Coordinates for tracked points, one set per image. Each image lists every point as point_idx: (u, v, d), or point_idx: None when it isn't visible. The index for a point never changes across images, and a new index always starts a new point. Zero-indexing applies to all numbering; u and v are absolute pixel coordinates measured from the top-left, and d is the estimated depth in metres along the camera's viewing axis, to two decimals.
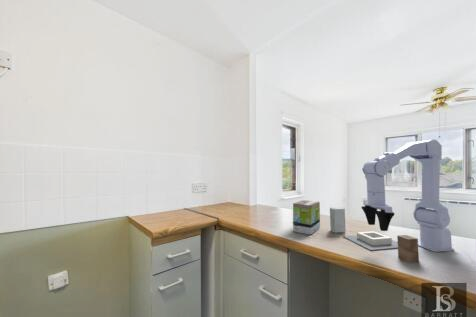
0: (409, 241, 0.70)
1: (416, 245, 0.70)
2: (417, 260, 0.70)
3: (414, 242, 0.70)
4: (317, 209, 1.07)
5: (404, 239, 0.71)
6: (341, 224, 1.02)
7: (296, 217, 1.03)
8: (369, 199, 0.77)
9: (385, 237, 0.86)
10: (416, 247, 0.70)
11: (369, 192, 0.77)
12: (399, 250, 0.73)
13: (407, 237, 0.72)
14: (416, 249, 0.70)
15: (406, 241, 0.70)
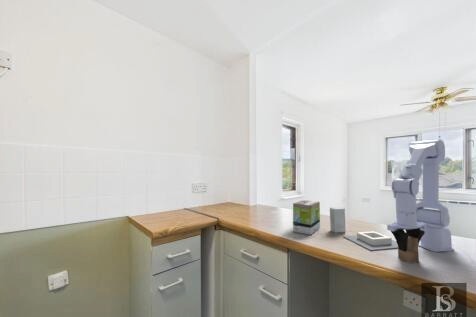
0: (409, 241, 0.70)
1: (416, 245, 0.70)
2: (417, 260, 0.70)
3: (414, 242, 0.70)
4: (317, 209, 1.07)
5: None
6: (341, 224, 1.02)
7: (296, 217, 1.03)
8: None
9: (385, 237, 0.86)
10: (416, 247, 0.70)
11: None
12: (399, 250, 0.73)
13: None
14: (416, 249, 0.70)
15: None
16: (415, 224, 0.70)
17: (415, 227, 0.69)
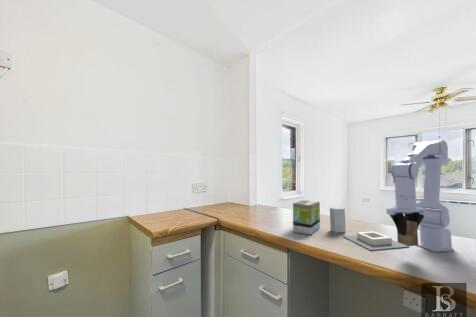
0: (408, 225, 0.70)
1: (415, 229, 0.71)
2: (416, 244, 0.70)
3: (413, 225, 0.71)
4: (317, 209, 1.07)
5: None
6: (341, 224, 1.02)
7: (296, 217, 1.03)
8: None
9: (385, 237, 0.86)
10: (415, 231, 0.71)
11: None
12: (398, 235, 0.73)
13: None
14: (415, 233, 0.70)
15: (406, 225, 0.71)
16: (414, 208, 0.70)
17: (414, 211, 0.70)
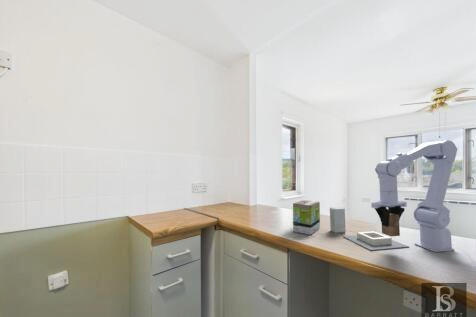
0: (390, 217, 0.78)
1: (397, 221, 0.78)
2: (398, 234, 0.78)
3: (395, 218, 0.78)
4: (317, 209, 1.07)
5: None
6: (341, 224, 1.02)
7: (296, 217, 1.03)
8: None
9: (385, 237, 0.86)
10: (397, 222, 0.78)
11: None
12: (382, 226, 0.81)
13: (389, 214, 0.80)
14: (397, 224, 0.78)
15: None
16: (396, 201, 0.78)
17: (396, 204, 0.77)
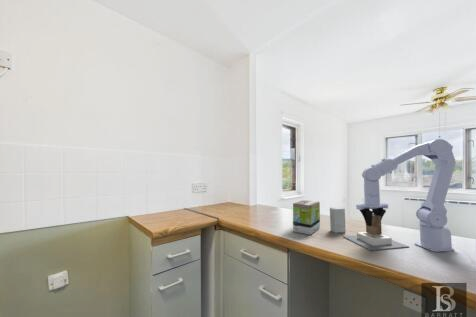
0: (373, 218, 0.87)
1: (379, 221, 0.87)
2: (380, 233, 0.87)
3: (378, 218, 0.87)
4: (317, 209, 1.07)
5: None
6: (341, 224, 1.02)
7: (296, 217, 1.03)
8: None
9: (385, 237, 0.86)
10: (379, 223, 0.87)
11: None
12: (366, 226, 0.90)
13: (373, 215, 0.89)
14: (379, 224, 0.87)
15: None
16: (378, 204, 0.87)
17: (378, 206, 0.87)
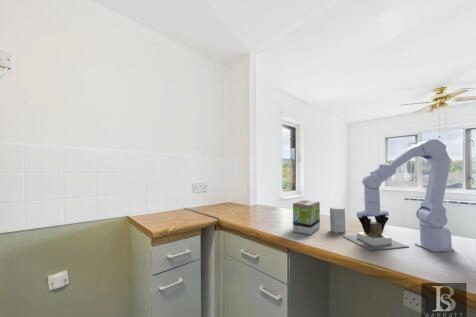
0: (374, 226, 0.87)
1: (380, 229, 0.87)
2: None
3: (378, 226, 0.87)
4: (317, 209, 1.07)
5: (370, 224, 0.88)
6: (341, 224, 1.02)
7: (296, 217, 1.03)
8: None
9: (385, 237, 0.86)
10: (380, 231, 0.87)
11: None
12: (367, 234, 0.90)
13: (373, 223, 0.89)
14: (379, 232, 0.87)
15: (372, 226, 0.87)
16: (378, 211, 0.87)
17: (378, 214, 0.87)
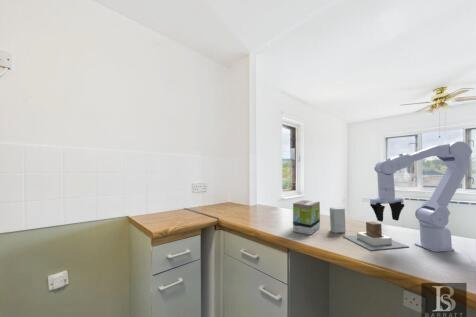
0: (374, 226, 0.87)
1: (380, 229, 0.87)
2: None
3: (378, 226, 0.87)
4: (317, 209, 1.07)
5: (370, 224, 0.88)
6: (341, 224, 1.02)
7: (296, 217, 1.03)
8: None
9: (385, 237, 0.86)
10: (380, 231, 0.87)
11: None
12: (367, 234, 0.90)
13: (373, 223, 0.89)
14: (379, 232, 0.87)
15: (372, 226, 0.87)
16: (393, 198, 0.83)
17: (393, 200, 0.83)
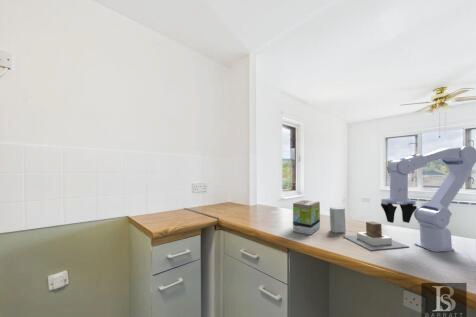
0: (374, 226, 0.87)
1: (380, 229, 0.87)
2: None
3: (378, 226, 0.87)
4: (317, 209, 1.07)
5: (370, 224, 0.88)
6: (341, 224, 1.02)
7: (296, 217, 1.03)
8: None
9: (385, 237, 0.86)
10: (380, 231, 0.87)
11: None
12: (367, 234, 0.90)
13: (373, 223, 0.89)
14: (379, 232, 0.87)
15: (372, 226, 0.87)
16: (406, 199, 0.80)
17: (405, 201, 0.80)
